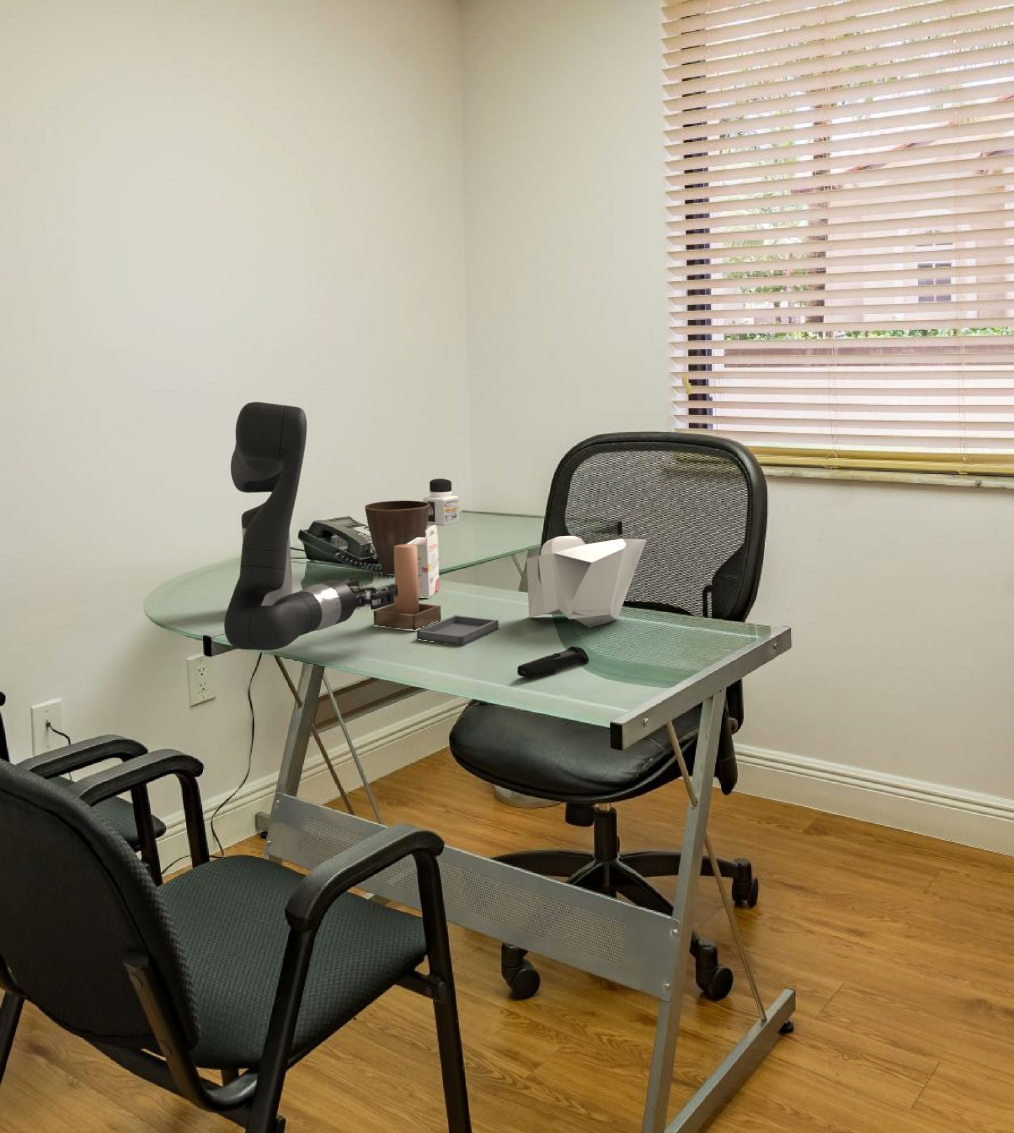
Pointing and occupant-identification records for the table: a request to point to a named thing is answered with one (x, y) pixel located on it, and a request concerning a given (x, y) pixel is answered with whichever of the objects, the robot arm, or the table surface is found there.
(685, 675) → the table surface
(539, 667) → the electric trimmer
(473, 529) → the table surface
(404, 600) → the dowel
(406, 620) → the wooden square frame
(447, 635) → the desk tray
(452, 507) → the container
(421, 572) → the ink cartridge box
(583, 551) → the folded paper
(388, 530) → the plant pot
